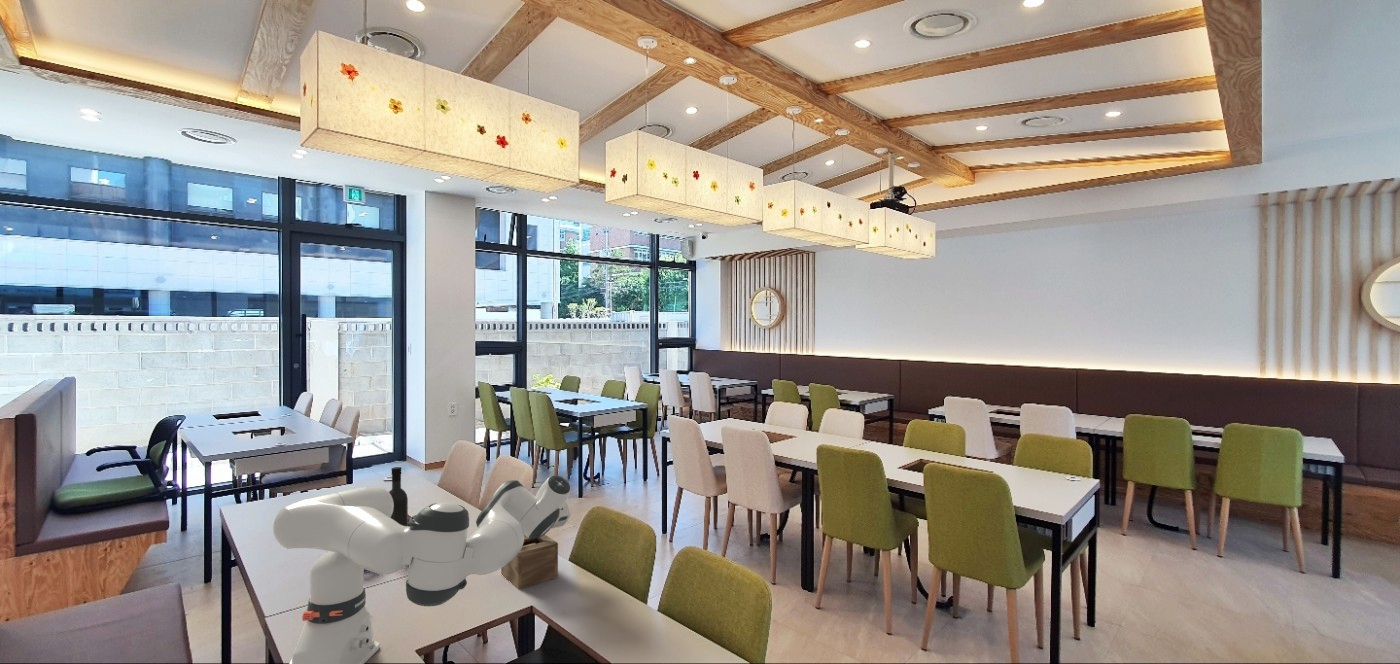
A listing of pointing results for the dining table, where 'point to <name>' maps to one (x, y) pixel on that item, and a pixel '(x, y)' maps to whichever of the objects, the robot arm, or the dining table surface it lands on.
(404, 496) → the wine bottle
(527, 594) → the dining table surface
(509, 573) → the slot box
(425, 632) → the dining table surface
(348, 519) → the robot arm
